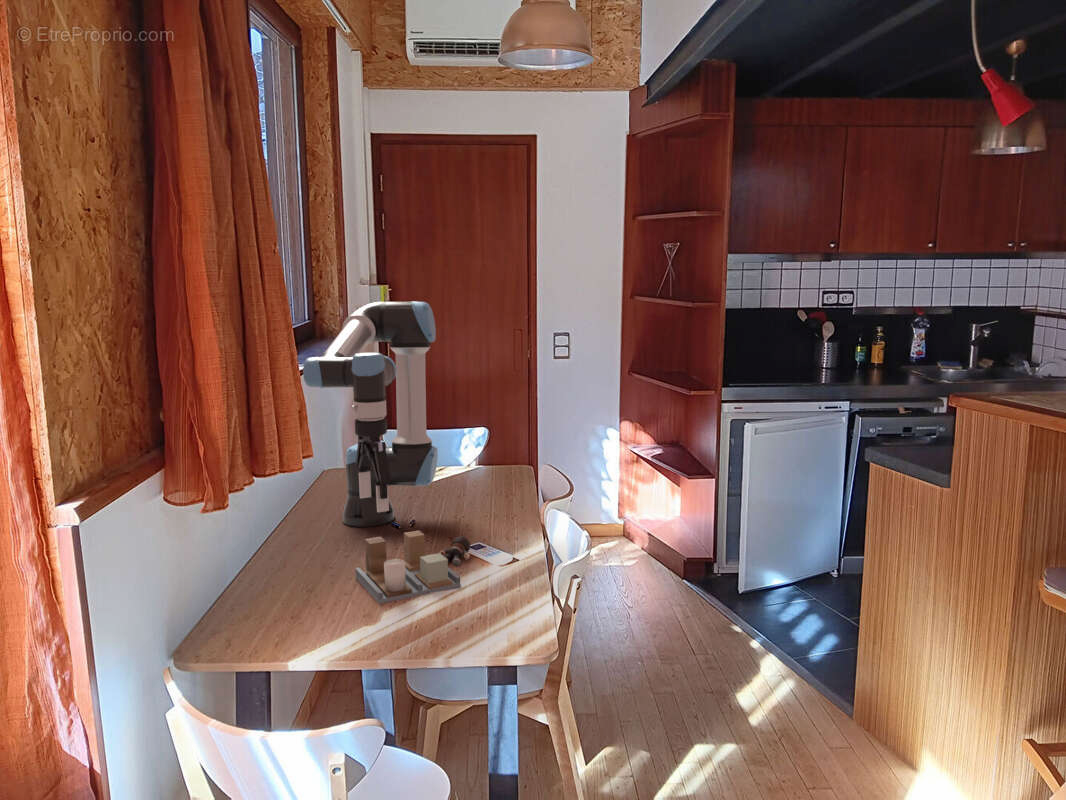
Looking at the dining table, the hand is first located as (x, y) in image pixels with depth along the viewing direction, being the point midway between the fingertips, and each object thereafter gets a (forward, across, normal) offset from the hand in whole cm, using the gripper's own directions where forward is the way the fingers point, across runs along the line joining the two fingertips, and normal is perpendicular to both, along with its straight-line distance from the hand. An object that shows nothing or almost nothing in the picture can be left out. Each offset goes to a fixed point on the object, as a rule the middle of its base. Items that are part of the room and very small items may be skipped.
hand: (374, 504), depth 203 cm
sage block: (+16, +13, +10) cm, 23 cm away
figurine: (+19, -2, +22) cm, 29 cm away
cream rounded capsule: (+16, +14, 0) cm, 21 cm away
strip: (+17, +7, 0) cm, 19 cm away
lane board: (+18, +8, +5) cm, 20 cm away
